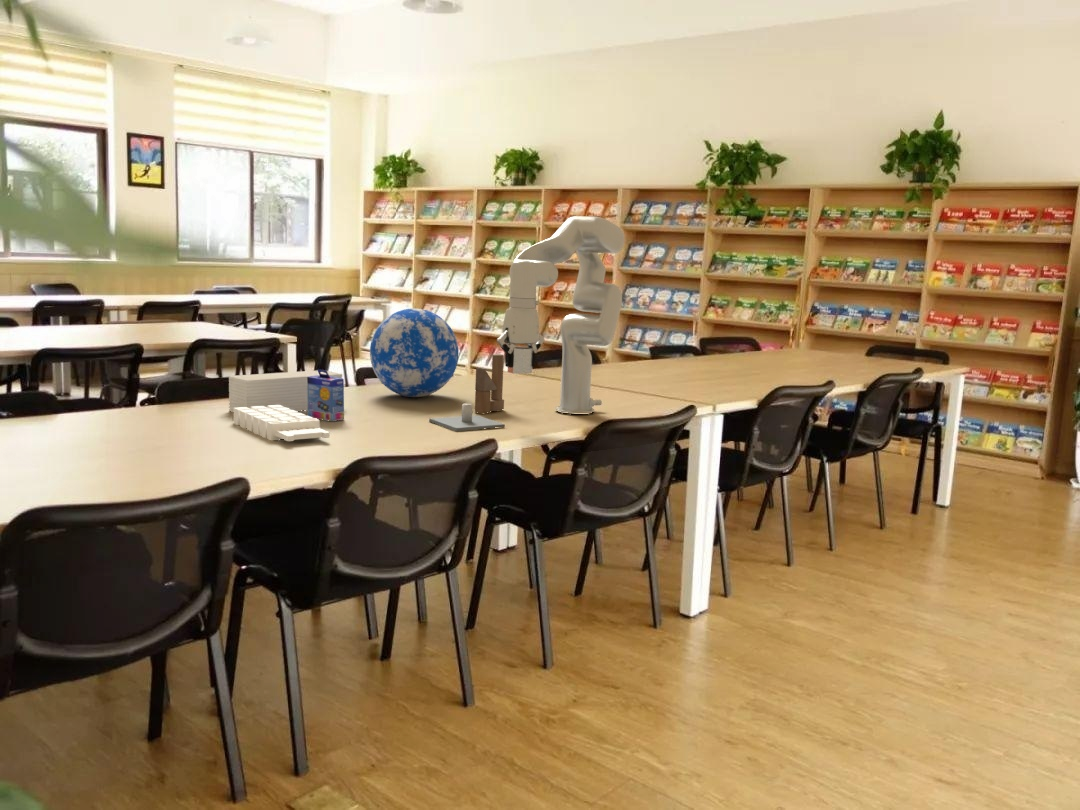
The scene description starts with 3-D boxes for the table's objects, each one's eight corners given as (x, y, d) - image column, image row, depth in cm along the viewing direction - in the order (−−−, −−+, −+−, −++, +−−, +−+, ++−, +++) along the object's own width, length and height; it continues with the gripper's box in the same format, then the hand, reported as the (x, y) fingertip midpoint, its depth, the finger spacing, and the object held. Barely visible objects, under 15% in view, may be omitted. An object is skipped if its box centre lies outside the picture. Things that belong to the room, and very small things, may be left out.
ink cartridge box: (305, 417, 275) (306, 368, 272) (319, 415, 279) (319, 366, 277) (331, 422, 270) (331, 371, 267) (344, 419, 274) (345, 370, 272)
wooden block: (474, 413, 296) (476, 355, 293) (495, 409, 304) (497, 353, 301) (483, 414, 293) (485, 356, 291) (504, 410, 302) (506, 354, 299)
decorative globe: (359, 391, 329) (360, 304, 325) (440, 389, 342) (443, 306, 337) (382, 405, 303) (384, 311, 298) (469, 402, 315) (472, 312, 310)
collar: (522, 370, 277) (523, 346, 276) (535, 373, 272) (536, 348, 271) (503, 371, 274) (504, 346, 272) (516, 374, 268) (517, 349, 267)
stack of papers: (246, 417, 273) (246, 380, 271) (229, 412, 280) (228, 375, 278) (341, 408, 295) (342, 374, 293) (323, 403, 302) (323, 370, 301)
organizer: (279, 404, 269) (333, 425, 242) (279, 421, 270) (333, 443, 242) (233, 407, 261) (284, 429, 234) (233, 424, 262) (284, 448, 234)
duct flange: (476, 418, 286) (477, 398, 285) (504, 427, 273) (505, 407, 272) (429, 421, 277) (429, 401, 276) (456, 431, 264) (456, 410, 263)
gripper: (539, 303, 278) (537, 364, 281) (489, 303, 268) (487, 366, 271) (554, 305, 272) (551, 367, 275) (504, 305, 262) (501, 369, 265)
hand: (519, 366), depth 273 cm, fingers closed on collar, 6 cm apart
